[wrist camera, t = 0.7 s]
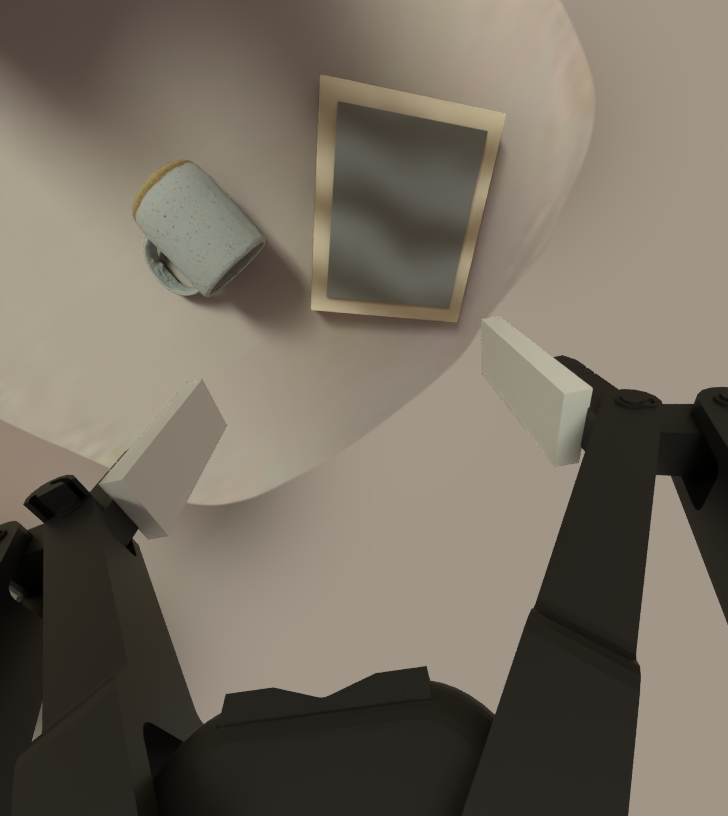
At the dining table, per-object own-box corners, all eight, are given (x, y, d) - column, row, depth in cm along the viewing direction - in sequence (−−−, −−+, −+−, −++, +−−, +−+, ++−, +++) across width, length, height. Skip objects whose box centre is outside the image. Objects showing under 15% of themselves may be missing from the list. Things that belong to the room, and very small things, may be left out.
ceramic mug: (201, 160, 29) (167, 139, 22) (272, 239, 33) (262, 242, 26) (129, 247, 31) (78, 252, 25) (202, 312, 35) (176, 332, 28)
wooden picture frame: (319, 86, 28) (320, 72, 25) (492, 122, 31) (508, 112, 28) (310, 305, 36) (310, 310, 33) (448, 317, 39) (458, 323, 36)
